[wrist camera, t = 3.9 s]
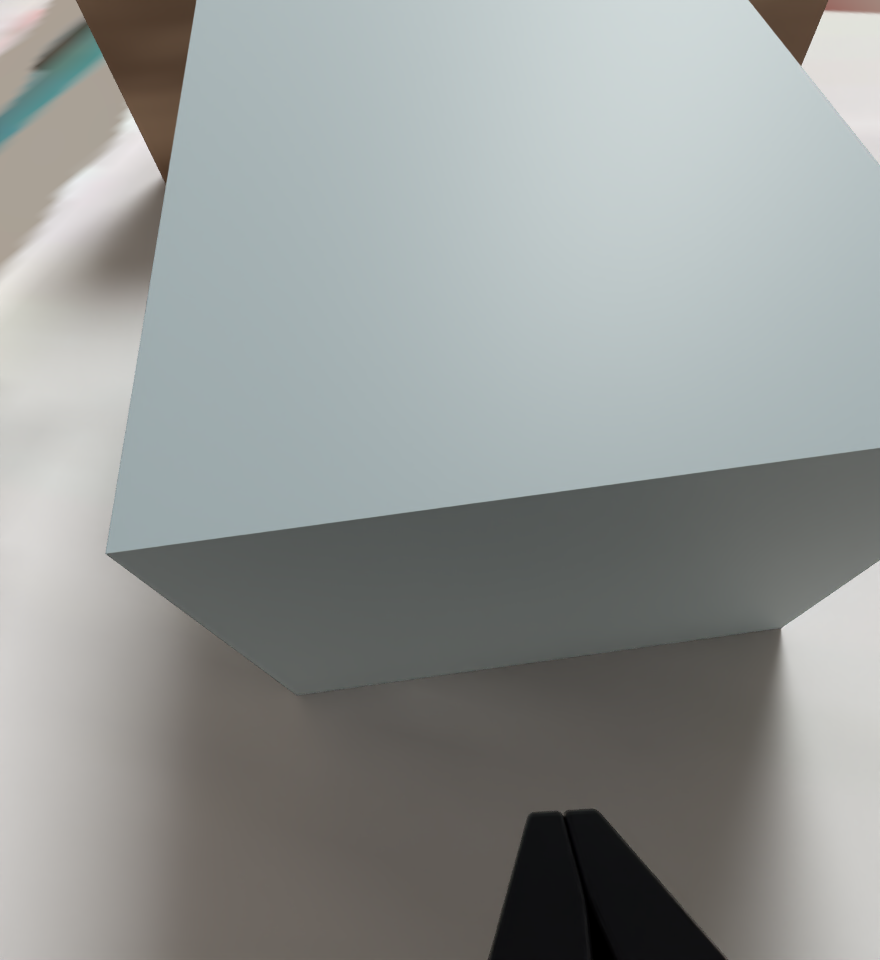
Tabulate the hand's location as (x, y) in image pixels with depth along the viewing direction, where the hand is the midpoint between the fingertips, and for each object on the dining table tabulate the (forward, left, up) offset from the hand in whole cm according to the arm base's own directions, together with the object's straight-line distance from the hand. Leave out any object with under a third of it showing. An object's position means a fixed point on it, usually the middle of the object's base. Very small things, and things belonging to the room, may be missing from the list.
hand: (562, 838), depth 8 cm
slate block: (+12, 0, -7) cm, 14 cm away
